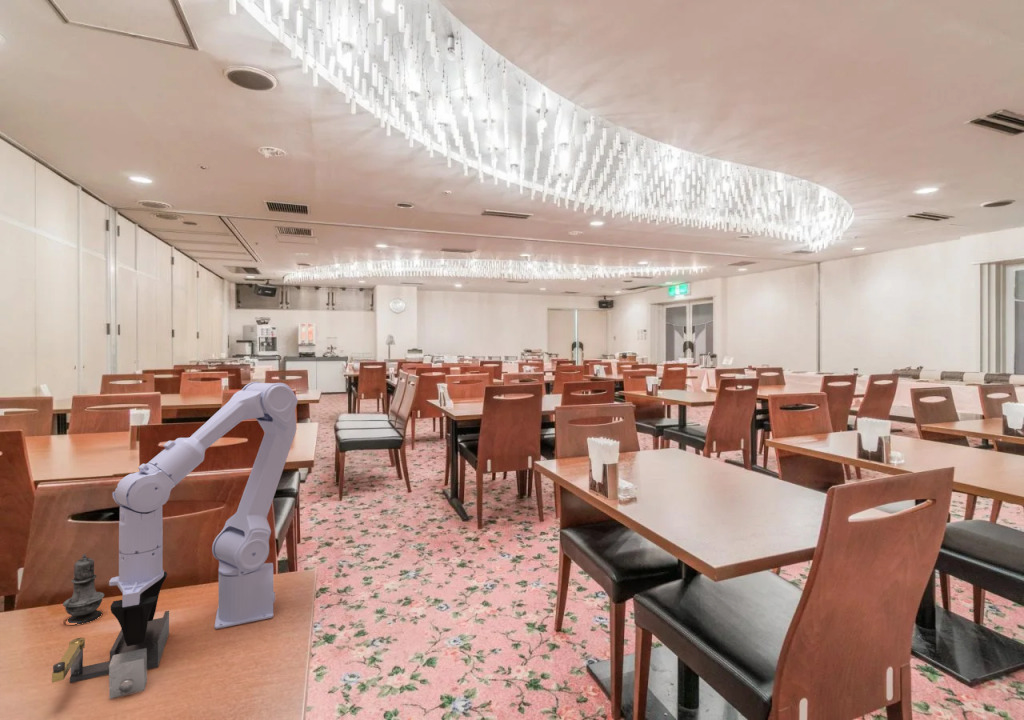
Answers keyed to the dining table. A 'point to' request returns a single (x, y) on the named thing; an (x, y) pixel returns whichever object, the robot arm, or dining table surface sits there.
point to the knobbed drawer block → (127, 673)
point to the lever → (67, 659)
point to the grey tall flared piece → (84, 593)
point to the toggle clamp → (152, 642)
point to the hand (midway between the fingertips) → (140, 632)
